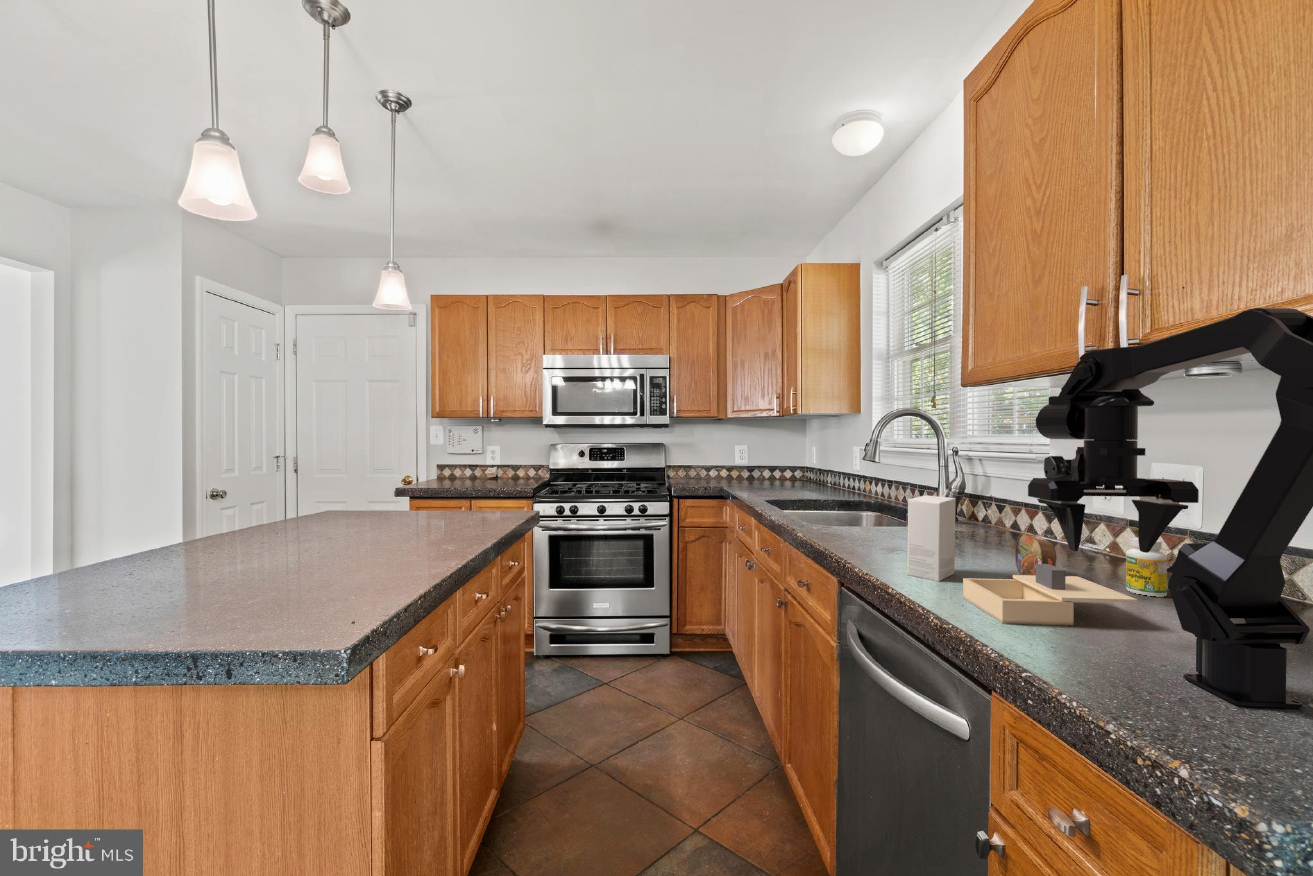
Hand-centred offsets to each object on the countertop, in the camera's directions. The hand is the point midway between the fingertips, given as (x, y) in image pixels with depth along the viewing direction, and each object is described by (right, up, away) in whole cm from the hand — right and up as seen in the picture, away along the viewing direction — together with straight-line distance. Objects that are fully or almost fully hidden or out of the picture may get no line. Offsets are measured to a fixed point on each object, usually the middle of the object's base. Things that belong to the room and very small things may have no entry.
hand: (1108, 551), depth 74 cm
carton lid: (+2, -8, +10) cm, 13 cm away
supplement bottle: (+24, -12, +20) cm, 33 cm away
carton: (-6, -12, +11) cm, 17 cm away
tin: (+11, -12, +29) cm, 33 cm away
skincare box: (-8, -12, +32) cm, 35 cm away
